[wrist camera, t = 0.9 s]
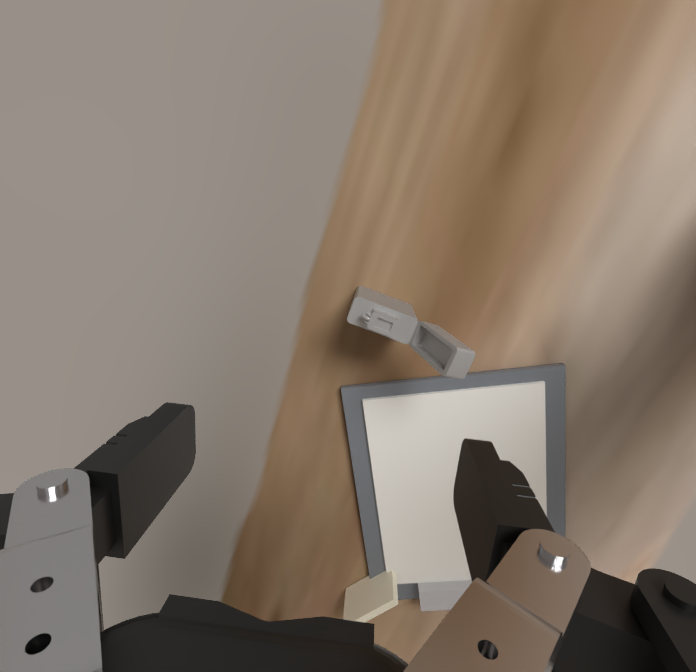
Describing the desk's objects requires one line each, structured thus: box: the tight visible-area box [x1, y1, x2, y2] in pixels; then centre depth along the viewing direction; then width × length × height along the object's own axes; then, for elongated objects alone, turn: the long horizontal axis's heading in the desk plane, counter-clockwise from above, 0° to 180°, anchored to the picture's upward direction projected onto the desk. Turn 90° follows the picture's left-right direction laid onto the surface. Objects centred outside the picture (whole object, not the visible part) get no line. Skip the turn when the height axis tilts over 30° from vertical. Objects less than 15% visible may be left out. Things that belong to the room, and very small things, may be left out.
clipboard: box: [341, 363, 565, 611], centre depth 32 cm, size 16×20×2 cm
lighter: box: [347, 286, 475, 379], centre depth 26 cm, size 7×2×8 cm, turn 70°
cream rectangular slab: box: [343, 570, 398, 623], centre depth 34 cm, size 5×1×4 cm, turn 128°
